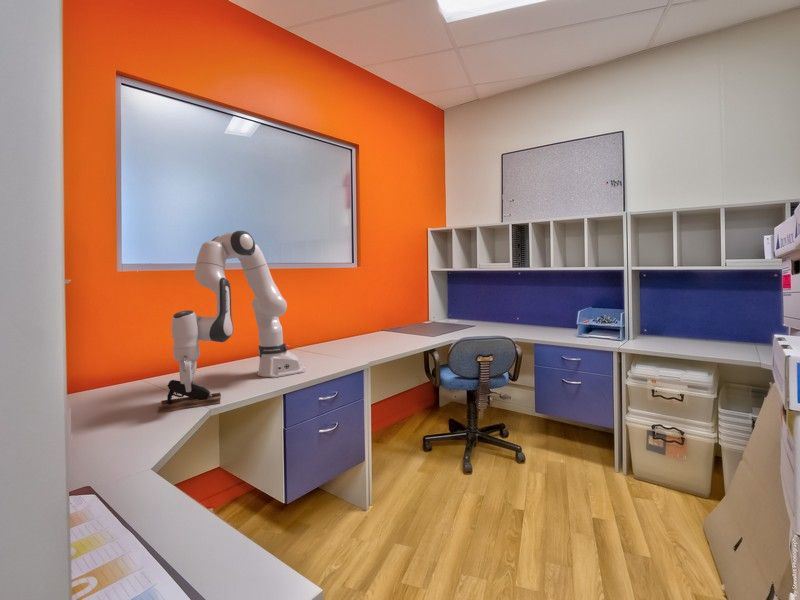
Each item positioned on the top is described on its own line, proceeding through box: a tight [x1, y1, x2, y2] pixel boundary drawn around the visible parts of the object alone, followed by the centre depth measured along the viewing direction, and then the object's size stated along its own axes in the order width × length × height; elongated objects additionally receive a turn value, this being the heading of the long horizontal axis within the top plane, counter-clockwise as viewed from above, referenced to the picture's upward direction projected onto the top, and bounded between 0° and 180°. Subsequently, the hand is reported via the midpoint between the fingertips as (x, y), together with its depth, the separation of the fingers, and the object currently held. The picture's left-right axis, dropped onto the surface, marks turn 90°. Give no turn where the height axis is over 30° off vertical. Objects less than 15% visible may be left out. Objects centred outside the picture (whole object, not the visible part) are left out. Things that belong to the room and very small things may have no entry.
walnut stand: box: [157, 392, 222, 414], centre depth 152 cm, size 21×10×2 cm, turn 112°
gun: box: [166, 379, 212, 405], centre depth 152 cm, size 3×16×10 cm, turn 110°
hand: (189, 388), depth 152 cm, fingers open, 6 cm apart
